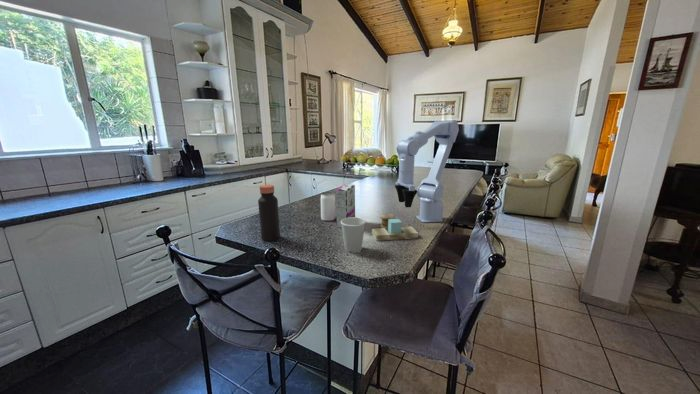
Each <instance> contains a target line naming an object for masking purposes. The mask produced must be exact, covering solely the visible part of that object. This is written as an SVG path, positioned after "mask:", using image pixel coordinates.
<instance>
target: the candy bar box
mask: <svg viewBox="0 0 700 394" xmlns="http://www.w3.org/2000/svg"><path fill="white" fill-rule="evenodd" d="M355 187H356V185H355V184H351V183H350V184H348V183H347V184H346V183H345V184H343V185H342V186H339V187H338V188H337V189H335V215H336V228H338V229H342V224H341V220H343V219H345V218H350V217H356V188H355Z"/></svg>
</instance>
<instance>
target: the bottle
mask: <svg viewBox="0 0 700 394" xmlns="http://www.w3.org/2000/svg"><path fill="white" fill-rule="evenodd" d="M259 193H260V195H261V196H260V197H259V198H258V200H257V204H258V205H257V206H258V213H259V214H258V215H259V226H260V237H261V240H262V241H263V242H275V241H277V240H279V239H280V238H281V228H280V214H279V201H278V200H279V199H278V198H277V197H276V196H275V195H274V194H275V186H274V185H273V184H263V185H260V186H259Z"/></svg>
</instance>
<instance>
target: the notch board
mask: <svg viewBox="0 0 700 394" xmlns="http://www.w3.org/2000/svg"><path fill="white" fill-rule="evenodd" d="M371 234H372V236H373V238H374V239H375V240H376V241H390V240H391V241H393V240H405V239H406V240H408V239H409V240H410V239H418V238H419V232H418V231H417V230H416V229H415V228H413V226H402V229H401V233H393V234H389V233H388V230H386V229H385V228H378V227H377V228H371Z"/></svg>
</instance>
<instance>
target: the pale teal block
mask: <svg viewBox="0 0 700 394" xmlns="http://www.w3.org/2000/svg"><path fill="white" fill-rule="evenodd" d="M402 223H403V222H402V221H401V220H400V219H399V218H395V219H388V230H387V232H388V233H389V234H393V233H401V229H402V227H403V226H402Z"/></svg>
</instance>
